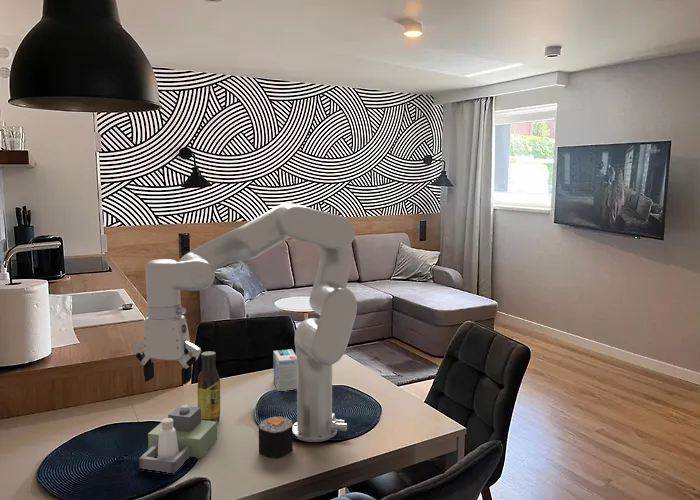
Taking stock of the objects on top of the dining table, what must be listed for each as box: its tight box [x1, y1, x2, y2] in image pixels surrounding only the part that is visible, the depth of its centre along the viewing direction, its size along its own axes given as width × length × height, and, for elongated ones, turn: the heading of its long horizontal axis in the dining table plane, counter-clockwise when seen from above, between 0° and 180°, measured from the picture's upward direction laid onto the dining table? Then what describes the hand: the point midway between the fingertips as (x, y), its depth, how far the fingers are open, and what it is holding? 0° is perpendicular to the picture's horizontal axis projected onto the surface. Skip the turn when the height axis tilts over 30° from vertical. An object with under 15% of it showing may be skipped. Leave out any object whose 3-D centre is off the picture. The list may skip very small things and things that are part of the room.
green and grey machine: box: [138, 404, 218, 475], centre depth 138 cm, size 14×18×10 cm
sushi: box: [257, 415, 294, 459], centre depth 140 cm, size 8×8×8 cm
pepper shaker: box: [157, 417, 179, 460], centre depth 134 cm, size 5×5×11 cm
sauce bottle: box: [197, 350, 221, 423], centre depth 156 cm, size 7×6×20 cm
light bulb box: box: [272, 348, 297, 392], centre depth 183 cm, size 11×7×11 cm, turn 17°
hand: (168, 380), depth 132 cm, fingers open, 9 cm apart
